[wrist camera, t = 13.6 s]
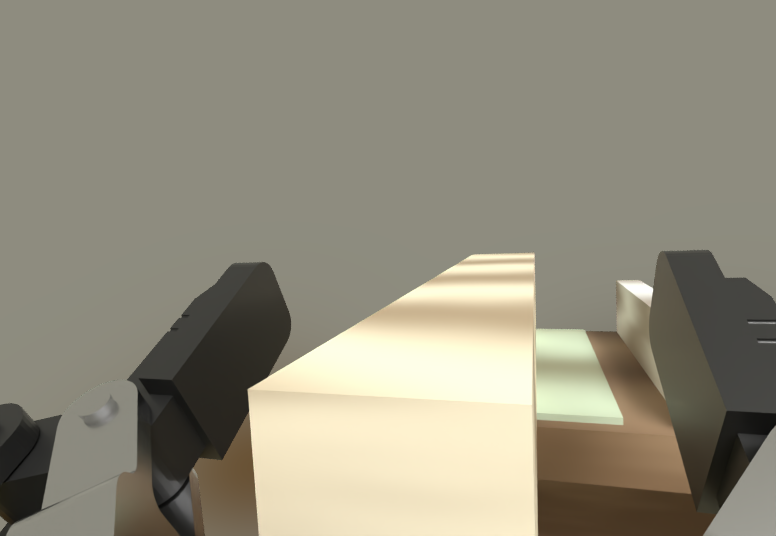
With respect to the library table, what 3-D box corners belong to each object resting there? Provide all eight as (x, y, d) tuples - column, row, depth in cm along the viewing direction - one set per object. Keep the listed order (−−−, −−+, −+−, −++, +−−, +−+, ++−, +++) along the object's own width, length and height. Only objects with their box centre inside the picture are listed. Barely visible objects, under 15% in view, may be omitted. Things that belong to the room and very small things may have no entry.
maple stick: (474, 312, 29) (472, 254, 29) (535, 312, 28) (534, 252, 28) (267, 642, 7) (247, 389, 6) (539, 702, 6) (531, 405, 5)
